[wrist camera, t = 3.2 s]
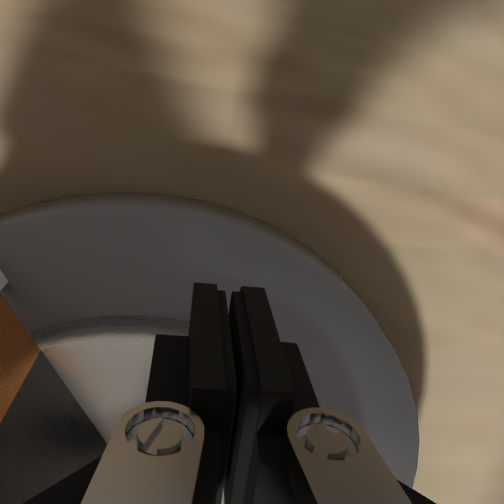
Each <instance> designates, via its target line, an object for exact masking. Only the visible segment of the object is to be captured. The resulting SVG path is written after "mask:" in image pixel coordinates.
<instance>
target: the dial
mask: <svg viewBox="0 0 504 504" xmlns="http://www.w3.org/2000/svg"><path fill="white" fill-rule="evenodd" d="M189 323H190V322H187V321H183V320H178V319H170V318H162V317H154V316H127V315H113V316H104V317H94V318H85V319H78V320H74V321H69V322H65V323H60V324H56V325H52V326H48V327H45V328H42V329H39V330H37V331H34V332H31V333H29V332H28V331H27V329H26V328H25V327H24V325H23V324H22V322H21V321H20V319H19V318H18V317H17V315H16V314H15V312H14V311H13V310H12V308H11V307H10V305H9V304H8V302H7V301H6V300H5V298H4V297H3V295H2V294H1V292H0V504H22V503H24V502H26V501H27V500H29V499H31V498H32V497H34V496H36V495H37V494H39V493H41V492H42V491H44V490H46V489H47V488H49V487H51V486H52V485H54V484H56V483H57V482H59V481H61V480H62V479H64V478H66V477H67V476H69V475H71V474H72V473H74V472H76V471H77V470H79V469H81V468H82V467H84V466H86V465H87V464H89V463H91V462H92V461H94V460H96V459H97V458H99V457H101V456H102V455H103V453H104V451H105V449H106V446H107V444H108V442H109V440H110V438H111V435H112V433H113V431H114V429H115V427H116V424H117V423H118V421H119V420H120V418H121V417H122V416H123V414H125V413H126V412H127V411H129V410H130V409H132V408H133V407H136V406H138V405H141V404H143V403H145V400H146V394H147V387H148V381H149V374H150V368H151V362H152V355H153V349H154V342H155V336H156V334H163V335H179V336H188V333H189ZM221 504H224V488H223V494H222V501H221Z"/></svg>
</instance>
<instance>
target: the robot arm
mask: <svg viewBox="0 0 504 504" xmlns="http://www.w3.org/2000/svg"><path fill="white" fill-rule="evenodd" d="M223 488H224V504H436V503H434V502H433V501H431V500H429V499H428V498H426V497H425V496H423V495H421V494H420V493H418V492H417V491H415V490H413V489H412V488H410V487H409V486H407V485H405V484H404V483H402V482H400V481H399V480H397V479H396V478H395V476H394V475H393V473H392V472H391V470H390V469H389V467H388V466H387V464H386V463H385V461H384V460H383V458H382V457H381V455H380V453H379V452H378V450H377V449H376V447H375V446H374V444H373V443H372V441H371V440H370V438H369V437H368V435H367V434H366V432H365V431H364V430H363V429H362V427H361V426H360V425H359V424H358V423H357V422H355V421H354V420H353V419H351V418H350V417H348V416H346V415H344V414H342V413H340V412H338V411H335V410H331V409H327V408H320V406H319V403H318V400H317V398H316V395H315V392H314V389H313V386H312V384H311V381H310V378H309V375H308V372H307V370H306V367H305V364H304V361H303V358H302V355H301V353H300V350H299V347H298V345H297V343H293V342H281V341H280V338H279V334H278V331H277V328H276V324H275V321H274V318H273V314H272V311H271V308H270V304H269V301H268V298H267V294H266V291H265V288H261V287H249V286H241V288H240V292H236V291H232V293H231V299H230V307H229V314H228V307H227V299H226V291H223V290H217V284H210V283H198V282H194V285H193V293H192V303H191V313H190V323H189V333H188V336H179V335H163V334H156V336H155V342H154V349H153V355H152V362H151V368H150V374H149V381H148V387H147V394H146V400H145V403H143V404H141V405H138V406H136V407H133V408H132V409H130V410H129V411H127V412H126V413H125V414H123V416H122V417H121V418H120V420H119V421H118V423H117V424H116V427H115V429H114V431H113V433H112V435H111V438H110V440H109V442H108V444H107V446H106V449H105V451H104V453H103V455H102V456H101V457H99V458H97V459H96V460H94V461H92V462H91V463H89V464H87V465H86V466H84V467H82V468H81V469H79V470H77V471H76V472H74V473H72V474H71V475H69V476H67V477H66V478H64V479H62V480H61V481H59V482H57V483H56V484H54V485H52V486H51V487H49V488H47V489H46V490H44V491H42V492H41V493H39V494H37V495H36V496H34V497H32V498H31V499H29V500H27V501H26V502H24V503H22V504H221V501H222V494H223Z"/></svg>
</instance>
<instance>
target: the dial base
mask: <svg viewBox="0 0 504 504" xmlns="http://www.w3.org/2000/svg"><path fill="white" fill-rule="evenodd" d="M194 282H198V283H210V284H217V290H223V291H226V299H227V307H228V314H229V307H230V299H231V293H232V291H236V292H240V288H241V286H249V287H261V288H265V291H266V294H267V298H268V301H269V304H270V308H271V311H272V314H273V318H274V321H275V324H276V328H277V331H278V334H279V338H280V341H281V342H293V343H297V345H298V347H299V350H300V353H301V355H302V358H303V361H304V364H305V367H306V370H307V372H308V375H309V378H310V381H311V384H312V386H313V389H314V392H315V395H316V398H317V400H318V403H319V406H320V408H327V409H331V410H335V411H338V412H340V413H342V414H344V415H346V416H348V417H350V418H351V419H353V420H354V421H355V422H357V423H358V424H359V425H360V426H361V427H362V429H363V430H364V431H365V432H366V434H367V435H368V437H369V438H370V440H371V441H372V443H373V444H374V446H375V447H376V449H377V450H378V452H379V453H380V455H381V457H382V458H383V460H384V461H385V463H386V464H387V466H388V467H389V469H390V470H391V472H392V473H393V475H394V476H395V478H396V479H397V480H399V481H400V482H402V483H404V484H405V485H407V486H409V487H410V488H412V486H413V482H414V478H415V474H416V470H417V462H418V450H419V430H418V417H417V409H416V405H415V401H414V397H413V393H412V389H411V385H410V382H409V379H408V377H407V375H406V372H405V370H404V368H403V366H402V363H401V361H400V359H399V357H398V354H397V352H396V351H395V349H394V348H393V346H392V345H391V343H390V341H389V340H388V338H387V337H386V335H385V334H384V332H383V331H382V329H381V328H380V326H379V325H378V323H377V322H376V320H375V319H374V317H373V316H372V314H371V313H370V312H369V310H368V309H367V307H366V306H365V304H364V303H363V302H362V300H361V299H360V297H359V296H358V295H357V294H356V292H355V291H354V290H353V289H352V288H351V287H350V286H349V285H348V283H347V282H346V281H345V280H344V279H343V278H342V277H341V276H340V275H339V273H338V272H337V271H336V270H335V269H333V268H332V267H331V266H330V265H329V264H327V263H326V262H325V261H324V260H322V259H321V258H320V257H319V256H318V255H316V254H315V253H314V252H313V251H312V250H310V249H309V248H308V247H306V246H304V245H303V244H301V243H300V242H298V241H296V240H295V239H293V238H292V237H290V236H288V235H287V234H285V233H283V232H282V231H280V230H279V229H277V228H275V227H272V226H270V225H268V224H266V223H263V222H261V221H259V220H257V219H254V218H252V217H250V216H248V215H245V214H243V213H241V212H238V211H234V210H231V209H227V208H224V207H221V206H217V205H214V204H211V203H207V202H204V201H200V200H194V199H188V198H182V197H176V196H170V195H164V194H150V193H124V192H113V193H101V194H90V195H78V196H70V197H66V198H61V199H56V200H52V201H47V202H43V203H38V204H33V205H29V206H27V207H24V208H21V209H18V210H15V211H13V212H10V213H7V214H4V215H2V216H0V292H1V294H2V295H3V297H4V298H5V300H6V301H7V302H8V304H9V305H10V307H11V308H12V310H13V311H14V312H15V314H16V315H17V317H18V318H19V319H20V321H21V322H22V324H23V325H24V327H25V328H26V329H27V331H28V332H29V333H31V332H34V331H37V330H39V329H42V328H45V327H48V326H52V325H56V324H60V323H65V322H69V321H74V320H78V319H85V318H94V317H104V316H113V315H127V316H154V317H162V318H170V319H178V320H183V321H187V322H190V313H191V303H192V293H193V285H194Z"/></svg>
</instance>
